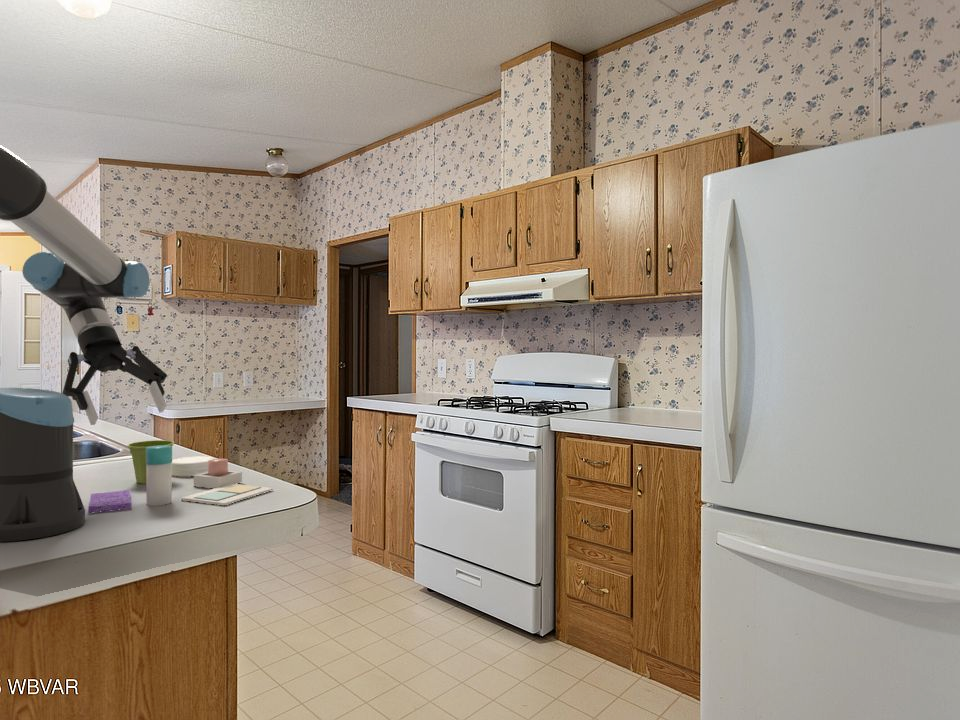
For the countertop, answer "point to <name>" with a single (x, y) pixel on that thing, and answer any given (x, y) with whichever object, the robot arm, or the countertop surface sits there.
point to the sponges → (110, 501)
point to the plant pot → (143, 456)
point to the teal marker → (158, 475)
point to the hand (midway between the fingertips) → (130, 415)
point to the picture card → (226, 494)
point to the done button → (217, 467)
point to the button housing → (217, 479)
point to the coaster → (190, 466)
